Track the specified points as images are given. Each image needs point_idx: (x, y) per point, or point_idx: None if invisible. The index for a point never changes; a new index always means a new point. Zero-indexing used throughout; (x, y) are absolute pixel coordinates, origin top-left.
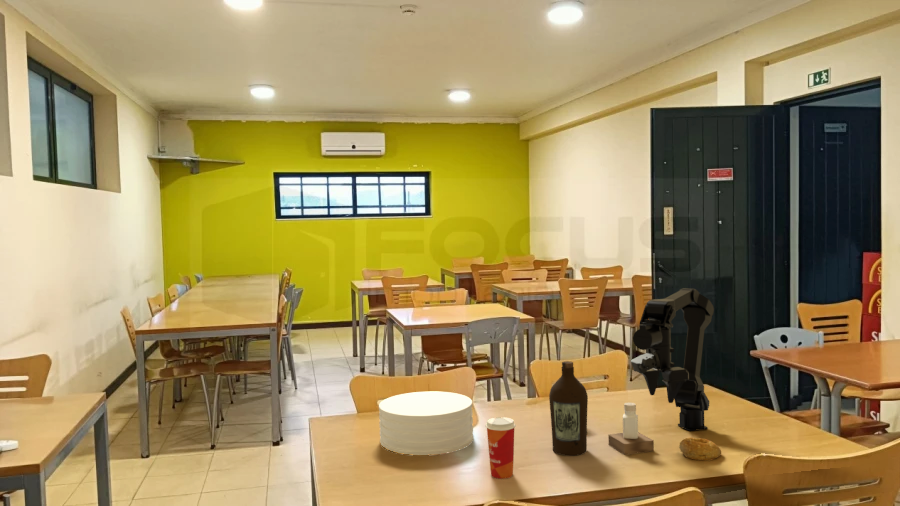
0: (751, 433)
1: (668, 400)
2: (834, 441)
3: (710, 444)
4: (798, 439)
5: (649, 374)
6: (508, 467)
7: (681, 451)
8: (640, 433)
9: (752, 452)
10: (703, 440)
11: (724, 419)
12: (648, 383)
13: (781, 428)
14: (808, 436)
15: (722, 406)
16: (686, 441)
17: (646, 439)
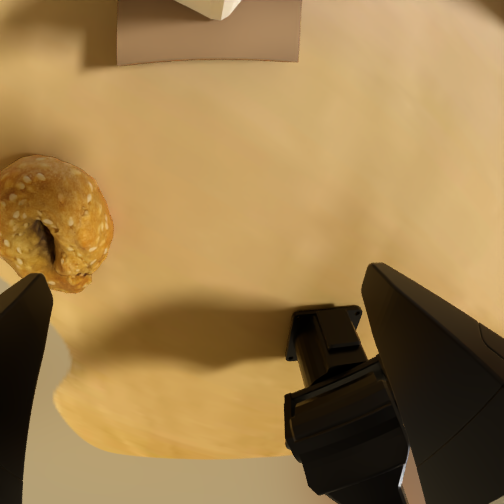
0: (212, 406)
1: (25, 282)
2: (133, 450)
3: (15, 264)
4: (151, 433)
5: (501, 450)
6: None
7: (45, 156)
8: (251, 57)
9: (71, 348)
10: (60, 269)
11: None
12: (452, 337)
13: (223, 441)
14: (165, 445)
15: None
16: (14, 189)
17: (142, 36)
